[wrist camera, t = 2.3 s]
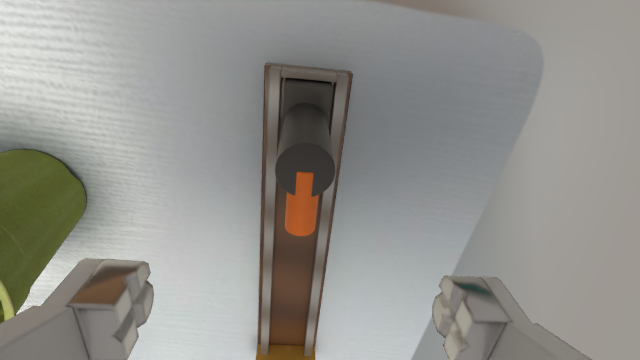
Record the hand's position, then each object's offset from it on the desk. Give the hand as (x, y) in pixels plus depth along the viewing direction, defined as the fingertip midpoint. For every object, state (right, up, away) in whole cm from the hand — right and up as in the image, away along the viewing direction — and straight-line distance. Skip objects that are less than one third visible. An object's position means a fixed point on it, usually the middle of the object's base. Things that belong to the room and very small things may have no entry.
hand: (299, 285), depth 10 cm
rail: (-2, -3, +21) cm, 22 cm away
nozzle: (0, +7, +15) cm, 16 cm away
